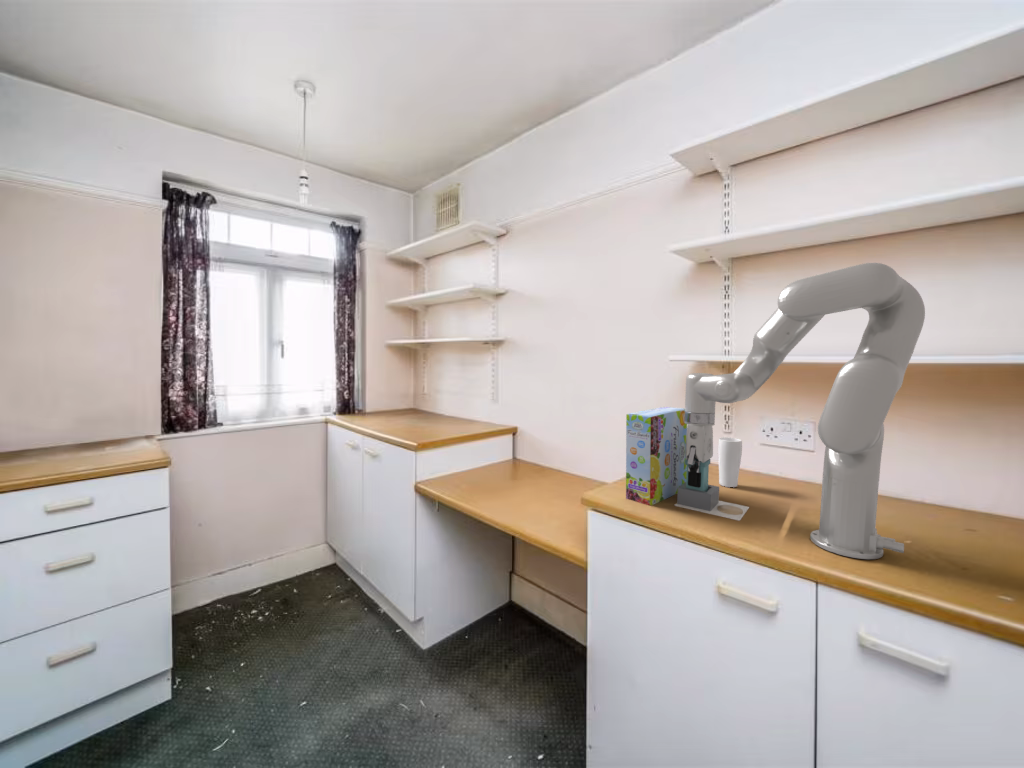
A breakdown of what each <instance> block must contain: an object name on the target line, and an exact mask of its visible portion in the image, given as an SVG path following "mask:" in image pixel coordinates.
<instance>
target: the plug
mask: <svg viewBox="0 0 1024 768" xmlns="http://www.w3.org/2000/svg"><path fill="white" fill-rule="evenodd" d="M711 459H712V458H710V459H709V460H707V461H706V462H704V463H702V462H701V463H700V473H701V487H699V488H698V487H693V486H689V485H688V467H689V466H688V460H687V459H686V460H685V464H686V465H687V473H686V488H690V489H695V490H700V491H704V492H707V491H708V485H709V471H710V470H709V467H710V466H709V465H711V461H712V460H711ZM694 461H698V459H696V458H695V460H694ZM695 464H696V465H697V464H698V463H695Z"/></svg>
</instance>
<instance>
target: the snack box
mask: <svg viewBox="0 0 1024 768" xmlns="http://www.w3.org/2000/svg"><path fill="white" fill-rule="evenodd" d="M625 417H626V419H625V420H626V421H625V422H626V427H625V428H626V429H625V430H626V431H625V433H626V435H625V436H626V437H625V438H626V439H625V440H626V441H625V443H626V445H625V446H626V447H625V457H626V458H625V465H626V466H625V469H626V470H625V499H626V500H630V501H632V502H636V503H639V504H643V505H647V506H654V505H656V504H658V503H660V502H662V501H664V500H666V499H668V498H670V497H673V496H675V495H678V487H680V486H681V485H682V484H684V483H685V482H686V473H687V465H686V464H685V460H686V457H685V447H686V434H687V425H688V424H685V423H684V422H685V407H684V408H683V407H671V406H662V407H661V406H660V407H656V408H650V409H645V410H641V411H637V412H636V411H635V412H631V413H627V414H626V416H625Z"/></svg>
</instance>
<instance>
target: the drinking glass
mask: <svg viewBox="0 0 1024 768" xmlns="http://www.w3.org/2000/svg"><path fill="white" fill-rule="evenodd" d="M717 443H718V444H717V454H718V455H717V460H718V461H717V462H718V484H719V485H720V486H722V487H724V486H725V488H730V487H733V488H736V487H738V485H739V484H738V483H739V475H740V474H739V473H740V468H741V467H740V466H741V462H742V461H741V460H742V453H743V440H742V439H740V438H735V437H724V436H723V437H718V442H717Z"/></svg>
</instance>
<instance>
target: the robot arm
mask: <svg viewBox="0 0 1024 768" xmlns="http://www.w3.org/2000/svg"><path fill="white" fill-rule="evenodd" d="M857 309H862V310H865V311H867V313H868V322H867V325H866V327H865V329H864V331H863V334H862V337H861V338H860V339H861V340H860V343H859V344H858V345H859V346H858V347H857V350H856V353H855V355H854V357H853V358H852V359H850V360H848V361H847V362H845V364H843V366H842V367H841V368H840V369H839V370H838V373H837V374H836V377H835V379H834V381H833V384H832V387H831V389H830V392H829V394H828V396H827V399H826V402H825V404H824V408H823V409H822V413H821V415H820V418H819V420H818V425H817V434H818V437H819V439H820V441H821V443H823V445H824V446H825V450H824V458H823V469H822V470H823V471H822V479H821V480H822V483H821V498H820V511H819V512H820V513H819V527H818V528H819V529H816V530H813V531H811V532H810V536H809V537H810V538H809V539H810V540H811V542H813V544H815V545H816V546H818V547H819V548H821V549H823V550H825V551H828V552H830V553H834V554H837V555H840V556H844V557H848V558H853V559H859V560H876V559H880V558H882V557H883V556H884V549H886V550H891V551H892V552H898V553H901V554H904V553H905V552H904V551H905V544H904V543H903V542H898V541H896V539H895V538H891V537H886V536H881V534H878V531H877V530H878V529H877V528H876V525H877V523H876V522H877V510H878V496H879V484H880V474H881V463H882V453H883V445H884V437H885V425H884V422H885V420H886V418H887V416H888V412H889V410H890V409H891V406H892V405H893V401H894V399H895V397H896V394H897V393H898V391H899V390H900V389H901V388H902V387H903V386H902V385H903V383H904V377H905V374H906V371H907V369H908V365H909V364H910V361H911V359H912V356H913V354H914V350H915V348H916V345H917V342H918V340H919V337H920V336H921V332H922V329H923V326H924V324H925V323H924V322H925V318H926V308H925V303H924V301H923V298H922V296H921V294H920V292H919V291H918V290H917V288H916V287H914V286H913V284H911V283H910V282H909V281H907V280H906V279H905V278H903V277H902V276H901V275H900V274H898V273H897V272H896V270H895V269H894V268H893V267H891V266H889V265H887V264H885V263H882V262H881V263H880V262H867V263H861V264H856V265H852V266H849V267H845V268H841V269H837V270H833V271H829V272H826V273H822V274H818V275H817V274H816V275H813V276H810V277H805V278H801V279H797V280H795V281H793V282H791V283H788V284H787V285H786V286H784V288H783V289H782V290H781V291H780V293H779V295H778V298H777V308H776V310H775V311H774V312H772V314H771V316H770V317H768V319H766V321H765V322H764V323H763V325H761V326H760V328H759V329H758V330H756V332H755V333H754V336H753V339H752V347H751V350H750V352H749V354H748V355H747V356H746V358H745V359H744V361H743V362H742V363H741V364H740V365H739V366H738V367H737V369H736V370H734V372H731V373H724V374H712V373H705V372H704V373H703V372H693V373H692V372H691V373H689V374H687V376H686V378H685V396H684V397H685V399H684V400H685V401H684V409H685V422H684V423H685V424H687V434H686V447H685V457H686V459H687V460H688V466H689V467H688V485H689V486H693V487H698V488H699V487H701V473H700V463H701V462H702V463H704V462H706V461H707V460H709V459H712V458H713V456H714V435H713V434H714V431H713V430H714V428H713V426H715V422H716V420H715V419H716V402H718V403H720V404H733V403H734V404H735V403H737V402H742V401H745V400H747V399H750V398H751V397H752V396H753V395H754V394H755V393H757V391H758V390H759V389H760V388H761V387H762V386H763V385H764V384H765V383H766V382H767V381H768V380H769V379H770V378H771V376H772V375H773V374H774V373H775V371H776V370H777V369H778V367H779V366H780V365H781V364H782V363H783V362H784V360H785V359H786V357H787V355H789V353H790V352H791V351H792V350H793V349H794V348H795V347H796V346H797V345H798V344H799V343H800V342H801V341H802V340H803V338H805V337H806V336H807V334H809V332H810V331H811V330H812V329H814V327H815V326H817V324H818V323H819V322H820V321H821V320H822V319H823V318H824V317H825V315H829V314H836V313H840V312H841V313H842V312H847V311H852V310H857ZM695 458H696V459H698V461H694V460H695ZM695 463H698V464H697V465H696V464H695Z"/></svg>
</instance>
